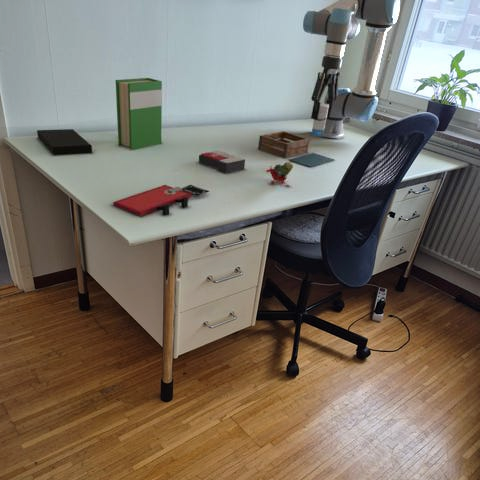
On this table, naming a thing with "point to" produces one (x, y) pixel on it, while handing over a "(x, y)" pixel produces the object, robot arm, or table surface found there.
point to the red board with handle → (158, 199)
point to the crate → (283, 144)
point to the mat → (311, 160)
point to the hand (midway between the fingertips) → (320, 117)
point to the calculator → (222, 161)
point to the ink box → (320, 120)
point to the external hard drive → (64, 142)
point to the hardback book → (139, 112)
